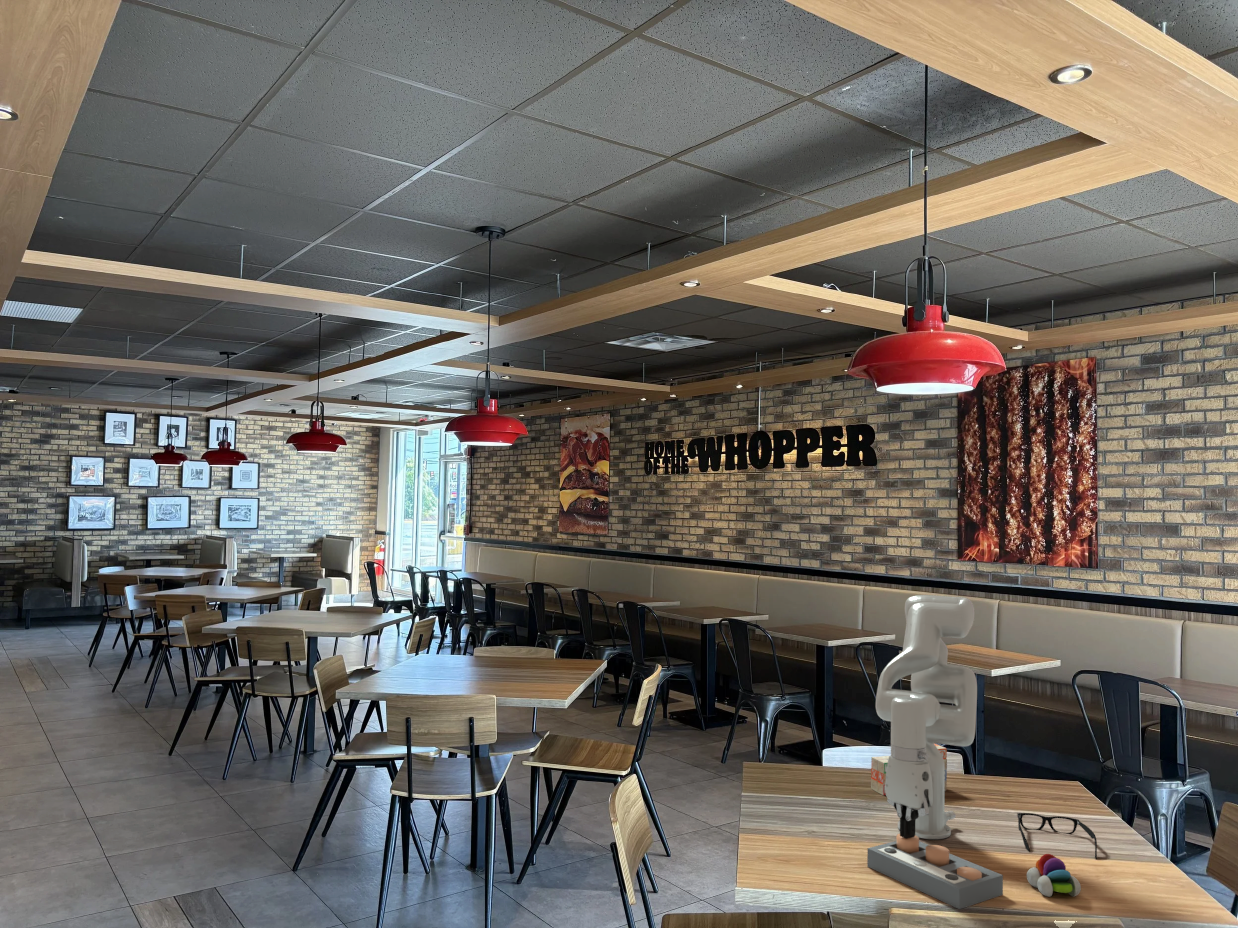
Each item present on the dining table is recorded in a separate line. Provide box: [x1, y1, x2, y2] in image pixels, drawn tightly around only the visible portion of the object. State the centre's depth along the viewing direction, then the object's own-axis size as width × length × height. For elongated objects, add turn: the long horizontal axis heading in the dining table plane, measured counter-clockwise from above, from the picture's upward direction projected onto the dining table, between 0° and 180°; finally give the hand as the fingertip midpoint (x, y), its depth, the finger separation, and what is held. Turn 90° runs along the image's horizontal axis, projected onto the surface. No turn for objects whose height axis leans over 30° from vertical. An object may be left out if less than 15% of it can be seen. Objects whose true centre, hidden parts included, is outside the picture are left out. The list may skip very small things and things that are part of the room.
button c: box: [957, 867, 982, 881], centre depth 182 cm, size 5×5×3 cm
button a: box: [896, 833, 920, 854], centre depth 196 cm, size 5×5×3 cm
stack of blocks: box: [870, 743, 948, 796], centre depth 252 cm, size 21×6×12 cm, turn 107°
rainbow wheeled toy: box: [1026, 853, 1082, 898], centre depth 184 cm, size 8×10×7 cm
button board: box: [866, 840, 1004, 910], centre depth 188 cm, size 14×24×4 cm, turn 32°
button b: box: [926, 844, 950, 867], centre depth 189 cm, size 5×5×3 cm
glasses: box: [1016, 812, 1098, 860], centre depth 213 cm, size 17×18×5 cm
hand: (907, 836), depth 196 cm, fingers closed
